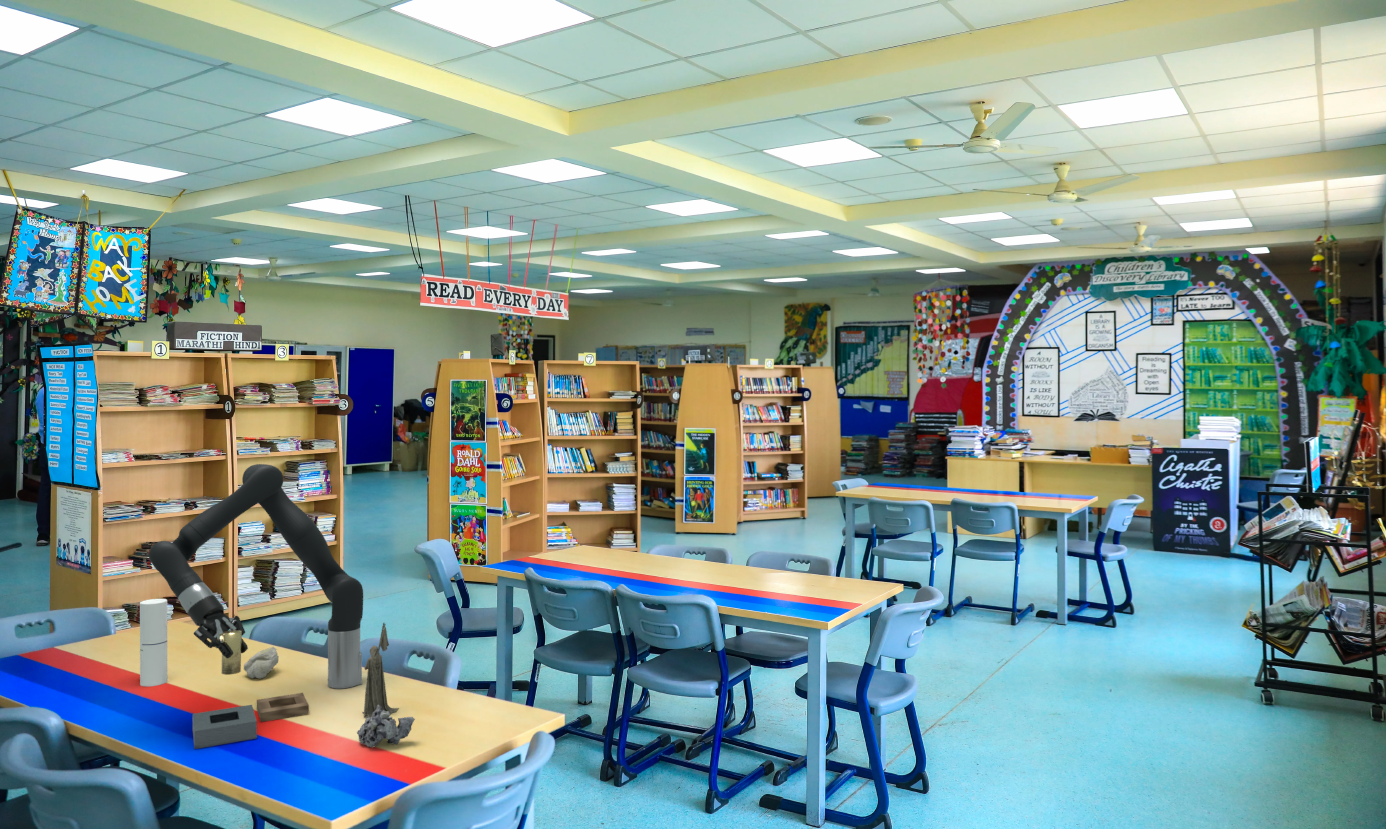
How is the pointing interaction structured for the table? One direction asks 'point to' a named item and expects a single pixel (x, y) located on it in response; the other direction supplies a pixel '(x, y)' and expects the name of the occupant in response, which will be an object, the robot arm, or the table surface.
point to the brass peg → (234, 642)
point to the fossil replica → (261, 663)
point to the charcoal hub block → (224, 726)
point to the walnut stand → (282, 707)
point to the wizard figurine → (376, 679)
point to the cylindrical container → (153, 642)
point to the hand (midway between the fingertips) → (237, 653)
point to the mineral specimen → (383, 728)
